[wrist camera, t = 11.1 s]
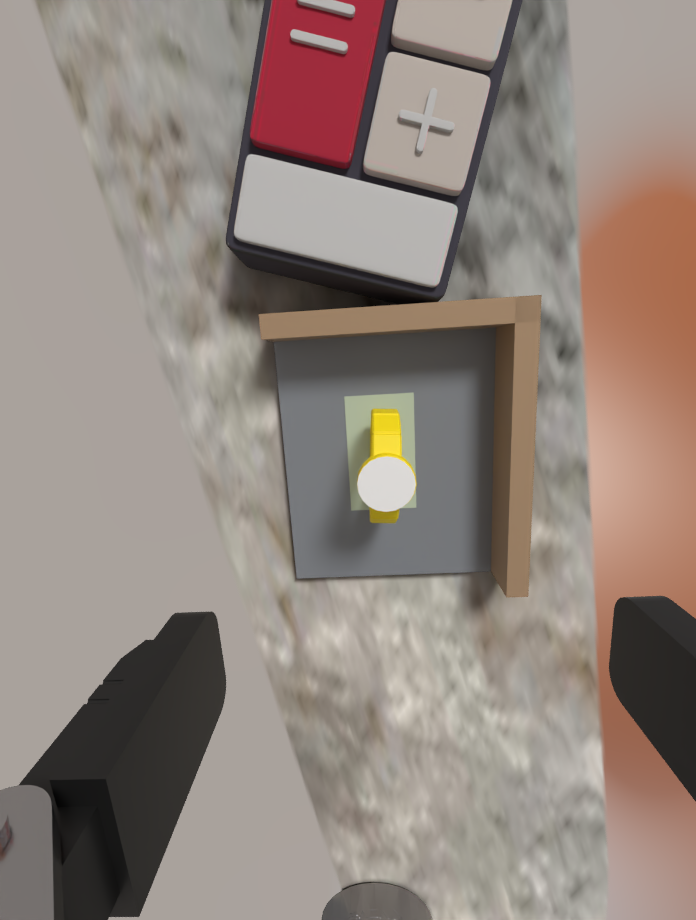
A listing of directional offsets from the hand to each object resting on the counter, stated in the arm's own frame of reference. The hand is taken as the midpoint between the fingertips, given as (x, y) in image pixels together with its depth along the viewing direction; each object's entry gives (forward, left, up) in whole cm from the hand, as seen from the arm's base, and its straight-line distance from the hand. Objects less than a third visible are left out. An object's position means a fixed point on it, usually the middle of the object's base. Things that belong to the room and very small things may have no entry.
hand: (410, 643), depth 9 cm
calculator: (+17, 0, -18) cm, 25 cm away
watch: (0, 0, -17) cm, 17 cm away
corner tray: (0, -1, -18) cm, 18 cm away
